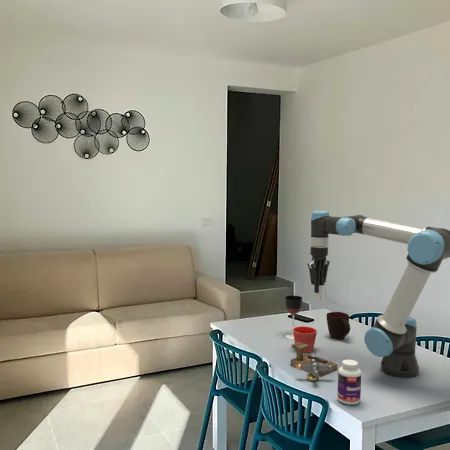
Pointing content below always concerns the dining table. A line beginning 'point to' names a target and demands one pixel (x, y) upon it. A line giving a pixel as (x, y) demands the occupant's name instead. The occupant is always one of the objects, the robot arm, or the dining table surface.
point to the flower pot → (305, 337)
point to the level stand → (309, 359)
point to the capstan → (314, 369)
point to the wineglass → (293, 309)
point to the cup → (338, 325)
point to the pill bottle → (349, 383)
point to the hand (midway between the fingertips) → (318, 299)
